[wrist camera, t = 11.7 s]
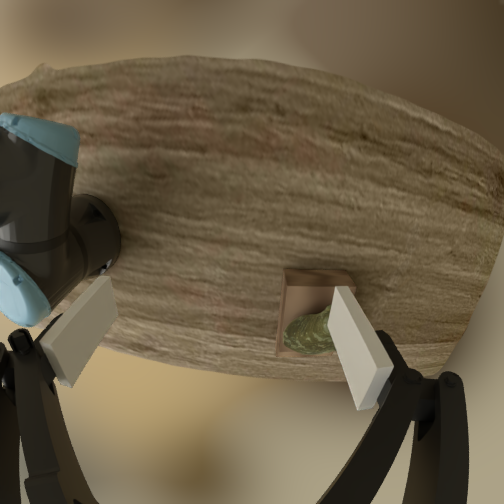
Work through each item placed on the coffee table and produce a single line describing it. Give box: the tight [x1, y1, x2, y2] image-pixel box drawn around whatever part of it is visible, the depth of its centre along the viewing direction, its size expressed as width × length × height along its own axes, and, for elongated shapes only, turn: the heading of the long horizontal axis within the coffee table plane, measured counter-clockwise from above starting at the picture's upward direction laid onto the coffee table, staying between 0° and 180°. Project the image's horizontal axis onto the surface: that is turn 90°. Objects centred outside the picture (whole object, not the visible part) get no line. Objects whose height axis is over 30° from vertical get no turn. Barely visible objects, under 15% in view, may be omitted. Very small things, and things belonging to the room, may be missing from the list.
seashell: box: [283, 305, 336, 355], centre depth 41 cm, size 10×7×10 cm
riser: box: [275, 269, 357, 357], centre depth 46 cm, size 11×17×6 cm, turn 178°
